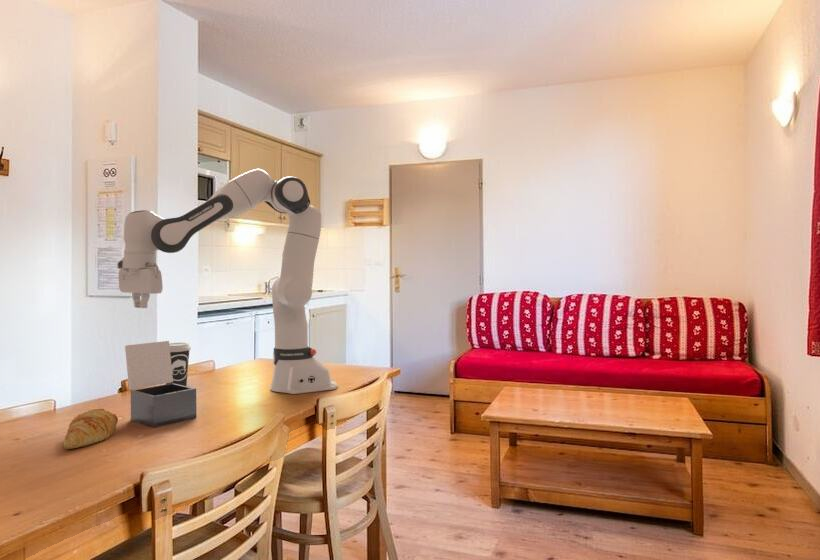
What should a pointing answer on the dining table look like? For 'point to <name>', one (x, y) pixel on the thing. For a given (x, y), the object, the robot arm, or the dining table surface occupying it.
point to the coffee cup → (179, 362)
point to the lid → (148, 364)
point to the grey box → (163, 404)
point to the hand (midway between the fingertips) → (140, 307)
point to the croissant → (90, 428)
